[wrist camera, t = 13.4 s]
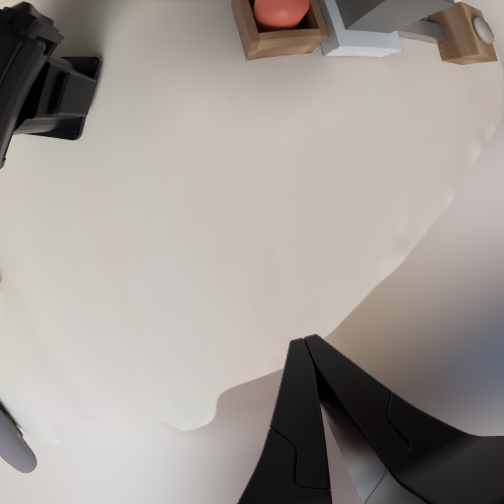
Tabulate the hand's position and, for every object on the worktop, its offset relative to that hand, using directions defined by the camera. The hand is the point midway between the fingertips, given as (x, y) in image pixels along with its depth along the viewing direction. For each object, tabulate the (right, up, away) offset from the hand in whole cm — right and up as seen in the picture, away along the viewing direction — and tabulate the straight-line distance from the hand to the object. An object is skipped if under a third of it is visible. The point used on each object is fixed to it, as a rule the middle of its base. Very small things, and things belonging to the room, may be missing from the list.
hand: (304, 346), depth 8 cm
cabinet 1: (+16, +23, +6) cm, 28 cm away
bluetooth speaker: (-55, -35, +24) cm, 70 cm away
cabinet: (0, +19, +6) cm, 20 cm away
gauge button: (0, +18, +6) cm, 19 cm away
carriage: (+5, +20, +6) cm, 22 cm away
